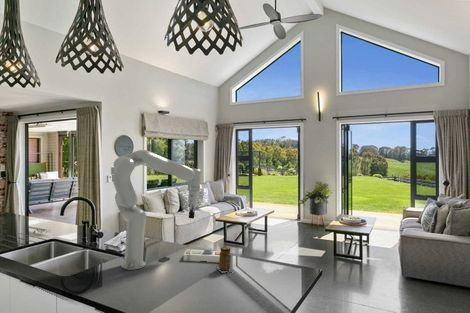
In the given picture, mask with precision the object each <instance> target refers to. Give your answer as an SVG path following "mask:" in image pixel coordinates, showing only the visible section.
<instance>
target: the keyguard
mask: <svg viewBox="0 0 470 313" xmlns="http://www.w3.org/2000/svg"><path fill="white" fill-rule="evenodd" d="M193 250H195V251H200V254H192V252H193ZM216 252H221V250H212V254H211V255H209V254H204V249H189V248H188V249H186V250H185V251H184V253H183V261H184V262H200V261H207V262H206V263H219V260H220V255H216Z"/></svg>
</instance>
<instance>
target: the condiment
mask: <svg viewBox="0 0 470 313" xmlns="http://www.w3.org/2000/svg"><path fill="white" fill-rule="evenodd" d="M220 251H221V252H220V260H219V262H218V263H219V264H218V265H219V266H218V268H219V270H221V271H229V270H230V269H231V257H232V255H231V248H230V247H228V246H222V247H221V248H220ZM233 273H234V271H233V272H232V273H231V274H233Z"/></svg>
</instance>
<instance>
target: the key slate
mask: <svg viewBox="0 0 470 313" xmlns="http://www.w3.org/2000/svg"><path fill="white" fill-rule="evenodd" d="M203 250H204V254H209V255H211V254H212V251H213V248H212V247H207V246H206V247H204V248H203Z"/></svg>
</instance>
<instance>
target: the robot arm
mask: <svg viewBox="0 0 470 313" xmlns="http://www.w3.org/2000/svg"><path fill="white" fill-rule="evenodd" d="M141 165H142V166H144V167H148V168H149V169H152V170H154V171H157V172H158V173H159V172H160V173H163V174H167V175H172V176H173V177H174V176H175V177H176V179H177V180H180V181H186V182H187V189H186V190H187V192H188V196H187V197H188V198H187V207H188V208H189V210H188V219H194V218H195V214H196V212H195V211H196V210H195V209H196V208H197V207H198V206H199V192H200V190H201V189H200V188H201V177H202V170H201V169H200V168H199V169H198V168H191V167H188V166H186V165H184V164H182V163H178V162H176V161H173V160H171V159H169V158H166V157H164V156H162V155H159V154H156V153H155V152H152V151H149V150H147V149H139V150H136V151H133V152H130V153H127V154H124V155H122V156H119V157H117V158H116V159H115V160H114V162H113V168H114V173H113V176H112V182H113V185H114V188H115V191H116V193H115V195H114V201H115V204H116V207H117V208H118V210H119V213H120V215H121V217H122V219H123V220H124V221H125V222H126V223H127V227H126V230H125V248H124V249H125V250H124V261H123V262H122V263H121V264H120V267H121V268H122V269H124V270H128V271H129V270H130V271H134V270H139V269H143V268H144V267H145V266H146V264H147V263H146V261H144V248H145V247H144V245H145V230H146V224H147V213H146V212H145V211H144V210H143V209H142V208H140V207H138V206H137V204H138V199H139V198H138V196H137V193H136V191H135V189H134V186H133V184H132V180H131V175H132V172H133V171H134V170H135V168H136V167H138V166H141Z"/></svg>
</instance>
